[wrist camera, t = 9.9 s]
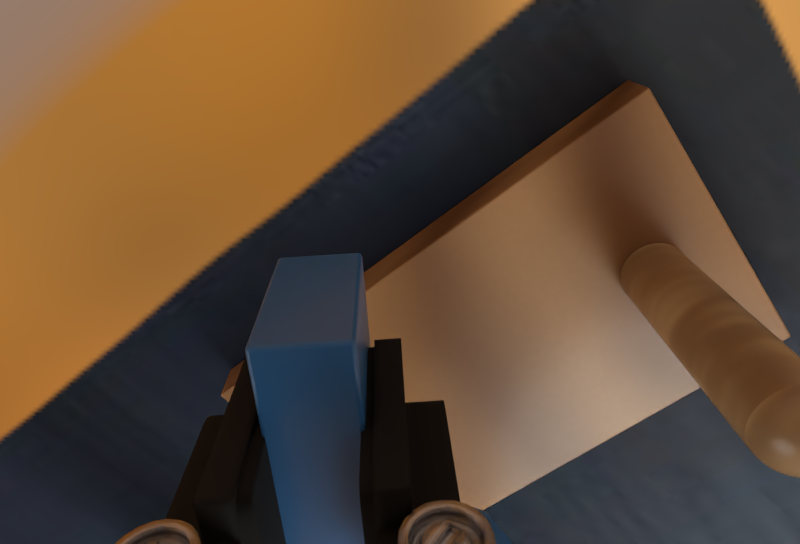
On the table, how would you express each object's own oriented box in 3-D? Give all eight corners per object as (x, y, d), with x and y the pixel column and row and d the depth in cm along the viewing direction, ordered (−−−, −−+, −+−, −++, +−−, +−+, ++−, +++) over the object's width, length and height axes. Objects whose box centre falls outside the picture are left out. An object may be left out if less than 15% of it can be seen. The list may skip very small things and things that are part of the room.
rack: (628, 78, 17) (875, 173, 8) (764, 313, 21) (1037, 546, 12) (230, 369, 21) (126, 631, 12) (403, 524, 25) (414, 810, 16)
